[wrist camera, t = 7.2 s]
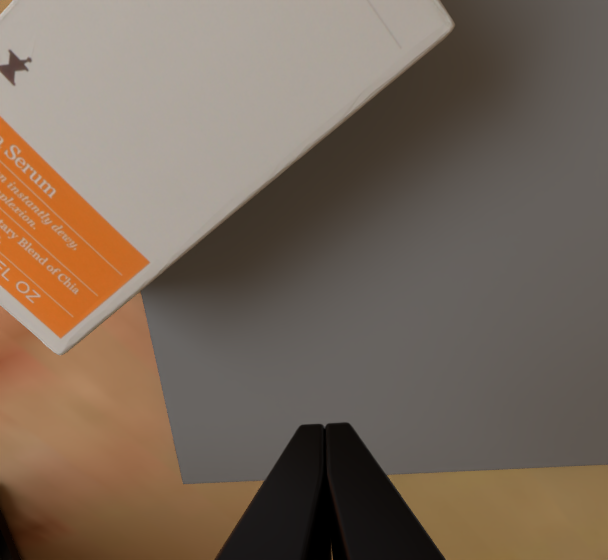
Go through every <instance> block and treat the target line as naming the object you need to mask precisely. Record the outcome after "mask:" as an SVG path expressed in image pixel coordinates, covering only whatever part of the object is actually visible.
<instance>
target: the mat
mask: <svg viewBox="0 0 608 560" xmlns="http://www.w3.org/2000/svg"><path fill="white" fill-rule="evenodd" d="M440 1H441V3H442V4H443V6H444V7H445V9H446V11H447V12H448V14H449V15H450V17H451V18H452V20H453V22H454V23H455V27H454V29H453V30H452V32H451V33H450V34H449V35H448V36H447V37H446V38H445V39H444V40H442V41H441V42H440V43H439V44H438V45H436V46H435V47H434V48H433V49H432V50H430V51H429V52H428V53H427V54H426V55H424V56H423V57H422V58H421V59H420V60H418V61H417V62H416V63H415V64H413V65H412V66H411V67H410V68H409V69H407V70H406V71H405V72H404V73H403V74H401V75H400V76H399V77H398V78H397V79H395V80H394V81H393V82H392V83H390V84H389V85H388V86H387V87H386V88H384V89H383V90H382V91H381V92H380V93H378V94H377V95H376V96H375V97H374V98H372V99H371V100H370V101H369V102H368V103H366V104H365V105H364V106H363V107H361V108H360V109H359V110H358V111H357V112H355V113H354V114H353V115H352V116H351V117H349V118H348V119H347V120H346V121H345V122H343V123H342V124H341V125H340V126H339V127H338V128H336V129H335V130H334V131H333V132H331V133H330V134H329V135H328V136H326V137H325V138H324V139H323V140H322V141H320V142H319V143H318V144H317V145H316V146H314V147H313V148H312V149H311V150H310V151H308V152H307V153H306V154H305V155H304V156H302V157H301V158H300V159H299V160H297V161H296V162H295V163H294V164H292V165H291V166H290V167H289V168H288V169H287V170H285V171H284V172H283V173H282V174H281V175H279V176H278V177H277V178H276V179H275V180H273V181H272V182H271V183H270V184H269V185H267V186H266V187H265V188H264V189H263V190H261V191H260V192H259V193H258V194H257V195H255V196H254V197H253V198H252V199H251V200H249V201H248V202H247V203H246V204H244V205H243V206H242V207H241V208H240V209H238V210H237V211H236V212H235V213H234V214H232V215H231V216H230V217H229V218H228V219H226V220H225V221H224V222H223V223H222V224H220V225H219V226H218V227H217V228H215V229H214V230H213V231H212V232H211V233H210V234H208V235H207V236H206V237H205V238H204V239H202V240H201V241H200V242H199V243H198V244H196V245H195V246H194V247H193V248H192V249H190V250H189V251H188V252H187V253H186V254H184V255H183V256H182V257H181V258H180V259H178V260H177V261H176V262H175V263H174V264H172V265H171V266H170V267H169V268H168V269H166V270H165V271H164V272H163V273H162V274H160V275H159V276H158V277H157V278H156V279H154V280H153V281H152V282H151V283H150V284H148V285H147V286H146V287H145V288H144V289H142V290H141V295H142V299H143V304H144V308H145V313H146V317H147V322H148V326H149V331H150V335H151V340H152V345H153V349H154V354H155V358H156V363H157V367H158V372H159V376H160V381H161V385H162V390H163V395H164V399H165V404H166V408H167V413H168V417H169V422H170V426H171V431H172V435H173V440H174V444H175V449H176V454H177V458H178V463H179V467H180V472H181V476H182V481H183V484H196V483H218V482H239V481H261V480H265V479H266V478H267V476H268V474H269V473H270V471H271V470H272V468H273V467H274V465H275V463H276V462H277V460H278V459H279V457H280V455H281V454H282V452H283V451H284V449H285V448H286V446H287V444H288V443H289V441H290V440H291V438H292V437H293V435H294V433H295V432H296V430H297V429H298V427H299V426H300V425H303V424H323V425H324V427H325V426H326V424H328V423H340V422H348V423H350V424H351V425H352V427H353V428H354V429H355V431H356V432H357V434H358V435H359V437H360V438H361V439H362V441H363V442H364V444H365V445H366V447H367V448H368V449H369V451H370V452H371V454H372V455H373V457H374V458H375V459H376V461H377V462H378V464H379V465H380V467H381V468H382V469H383V471H384V472H385V474H386V475H391V474H412V473H434V472H455V471H477V470H499V469H520V468H542V467H563V466H585V465H607V464H608V0H440Z"/></svg>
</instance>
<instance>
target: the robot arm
mask: <svg viewBox="0 0 608 560" xmlns="http://www.w3.org/2000/svg"><path fill="white" fill-rule="evenodd" d="M331 544H332V546H331ZM332 556H333V560H446V559H445V558H444V556H443V555H442V554H441V552H440V551H439V549H438V548H437V546H436V545H435V544H434V542H433V541H432V539H431V538H430V536H429V535H428V534H427V532H426V531H425V529H424V528H423V526H422V525H421V524H420V522H419V521H418V519H417V518H416V516H415V515H414V514H413V512H412V511H411V509H410V508H409V507H408V505H407V504H406V502H405V501H404V499H403V498H402V497H401V495H400V494H399V492H398V491H397V489H396V488H395V487H394V485H393V484H392V482H391V481H390V479H389V478H388V477H387V475H386V474H385V472H384V471H383V469H382V468H381V467H380V465H379V464H378V462H377V461H376V459H375V458H374V457H373V455H372V454H371V452H370V451H369V449H368V448H367V447H366V445H365V444H364V442H363V441H362V439H361V438H360V437H359V435H358V434H357V432H356V431H355V429H354V428H353V427H352V425H351V424H350V423H348V422H340V423H328V424H326V426H325V427H324V425H323V424H303V425H300V426H299V427H298V429H297V430H296V432H295V433H294V435H293V437H292V438H291V440H290V441H289V443H288V444H287V446H286V448H285V449H284V451H283V452H282V454H281V455H280V457H279V459H278V460H277V462H276V463H275V465H274V467H273V468H272V470H271V471H270V473H269V474H268V476H267V478H266V479H265V481H264V482H263V484H262V485H261V487H260V489H259V490H258V492H257V493H256V495H255V497H254V498H253V500H252V501H251V503H250V504H249V506H248V508H247V509H246V511H245V512H244V514H243V515H242V517H241V519H240V520H239V522H238V523H237V525H236V527H235V528H234V530H233V531H232V533H231V534H230V536H229V538H228V539H227V541H226V542H225V544H224V545H223V547H222V549H221V550H220V552H219V553H218V555H217V557H216V558H215V560H332ZM0 560H21V558H20V556H19V553H18V551H17V548H16V546H15V544H14V541H13V539H12V536H11V534H10V532H9V529H8V527H7V524H6V522H5V519H4V517H3V515H2V512H1V510H0Z"/></svg>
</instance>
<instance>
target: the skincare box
mask: <svg viewBox="0 0 608 560" xmlns="http://www.w3.org/2000/svg"><path fill="white" fill-rule="evenodd" d="M454 27H455V23H454V22H453V20H452V18H451V17H450V15H449V14H448V12H447V11H446V9H445V7H444V6H443V4H442V3H441V1H440V0H13V1H12V2H11V3H10V4H9V5H8V7H7V8H6V9H5V10H4V11H3V12H2V13H1V15H0V305H1V306H2V307H3V308H4V309H5V310H7V311H8V312H9V313H10V314H11V315H12V316H13V317H15V318H16V319H17V320H18V321H19V322H20V323H21V324H23V325H24V326H25V327H26V328H27V329H28V330H30V331H31V332H32V333H33V334H34V335H35V336H36V337H38V338H39V339H40V340H41V341H42V342H43V343H44V344H45V345H46V346H47V347H48V348H50V349H51V350H52V351H53V352H55V353H56V354H58V355H63V354H65V353H66V352H68V351H69V350H70V349H71V348H73V347H74V346H75V345H76V344H78V343H79V342H80V341H81V340H83V339H84V338H85V337H86V336H87V335H89V334H90V333H91V332H92V331H93V330H94V329H96V328H97V327H98V326H99V325H100V324H102V323H103V322H104V321H105V320H106V319H108V318H109V317H110V316H111V315H112V314H114V313H115V312H116V311H117V310H118V309H120V308H121V307H122V306H123V305H124V304H126V303H127V302H128V301H129V300H130V299H132V298H133V297H134V296H135V295H136V294H138V293H139V292H140V291H141V290H142V289H144V288H145V287H146V286H147V285H148V284H150V283H151V282H152V281H153V280H154V279H156V278H157V277H158V276H159V275H160V274H162V273H163V272H164V271H165V270H166V269H168V268H169V267H170V266H171V265H172V264H174V263H175V262H176V261H177V260H178V259H180V258H181V257H182V256H183V255H184V254H186V253H187V252H188V251H189V250H190V249H192V248H193V247H194V246H195V245H196V244H198V243H199V242H200V241H201V240H202V239H204V238H205V237H206V236H207V235H208V234H210V233H211V232H212V231H213V230H214V229H215V228H217V227H218V226H219V225H220V224H222V223H223V222H224V221H225V220H226V219H228V218H229V217H230V216H231V215H232V214H234V213H235V212H236V211H237V210H238V209H240V208H241V207H242V206H243V205H244V204H246V203H247V202H248V201H249V200H251V199H252V198H253V197H254V196H255V195H257V194H258V193H259V192H260V191H261V190H263V189H264V188H265V187H266V186H267V185H269V184H270V183H271V182H272V181H273V180H275V179H276V178H277V177H278V176H279V175H281V174H282V173H283V172H284V171H285V170H287V169H288V168H289V167H290V166H291V165H292V164H294V163H295V162H296V161H297V160H299V159H300V158H301V157H302V156H304V155H305V154H306V153H307V152H308V151H310V150H311V149H312V148H313V147H314V146H316V145H317V144H318V143H319V142H320V141H322V140H323V139H324V138H325V137H326V136H328V135H329V134H330V133H331V132H333V131H334V130H335V129H336V128H338V127H339V126H340V125H341V124H342V123H343V122H345V121H346V120H347V119H348V118H349V117H351V116H352V115H353V114H354V113H355V112H357V111H358V110H359V109H360V108H361V107H363V106H364V105H365V104H366V103H368V102H369V101H370V100H371V99H372V98H374V97H375V96H376V95H377V94H378V93H380V92H381V91H382V90H383V89H384V88H386V87H387V86H388V85H389V84H390V83H392V82H393V81H394V80H395V79H397V78H398V77H399V76H400V75H401V74H403V73H404V72H405V71H406V70H407V69H409V68H410V67H411V66H412V65H413V64H415V63H416V62H417V61H418V60H420V59H421V58H422V57H423V56H424V55H426V54H427V53H428V52H429V51H430V50H432V49H433V48H434V47H435V46H436V45H438V44H439V43H440V42H441V41H442V40H444V39H445V38H446V37H447V36H448V35H449V34H450V33H451V32H452V30H453V29H454Z"/></svg>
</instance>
